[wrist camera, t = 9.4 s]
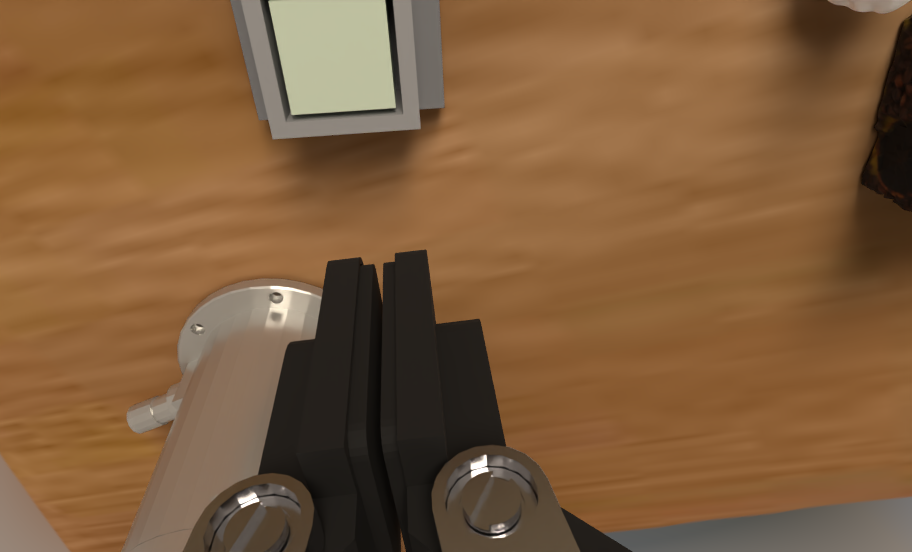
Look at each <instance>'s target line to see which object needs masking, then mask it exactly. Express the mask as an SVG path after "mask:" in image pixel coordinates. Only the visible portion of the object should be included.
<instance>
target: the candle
mask: <svg viewBox="0 0 912 552" xmlns="http://www.w3.org/2000/svg"><path fill="white" fill-rule="evenodd" d="M875 129H876V130H877V131H878V139H877V142H876V144H875V147H874V149H873V152H872V154H871V157H870V159H869V161H868V164H867V166H866V169H865V171H864V174H863V179H862V183H861V184H862V185H865V186H866V187H867V188H869V189H871V190H874V191H876V193H877V194H884V198H890V199H894V200H893V202H894V203H897V204H898V205H899V206H900V207H901V208H902V209H904V210H907V211H911V212H912V15H911V16H910V17H908V18H907V19H905V20H904V24H903V28H902V31H901V34H900V37H899V41H898V44H897V49H896V54H895V59H894V62H893V65H892V67H891V69H890V71H889V75H888V79H887V83H886V86H885V90H884V96H883V99H882V102H881V104H880V107H879V110H878V122H877V124H876V125H875Z"/></svg>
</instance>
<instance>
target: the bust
mask: <svg viewBox="0 0 912 552" xmlns="http://www.w3.org/2000/svg"><path fill="white" fill-rule="evenodd" d="M828 1H829V2H831V3H833V4H835V5H842V6H846V7H848V8H850V9H852V10H854V11H858V12H870V11H874V12H876V13H880V14H885V13H889V12H892V11H894V10H896V9H898V8H900V7H901V6H903V5H905V4H906V3H908V2H909V1H911V0H828Z"/></svg>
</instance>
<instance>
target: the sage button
mask: <svg viewBox="0 0 912 552" xmlns="http://www.w3.org/2000/svg"><path fill="white" fill-rule="evenodd" d="M268 2H269V7H270V12H271V16H272V21H273V26H274V31H275V36H276V41H277V46H278V51H279V56H280V60H281V65H282V70H283V75H284V80H285V85H286V90H287V95H288V99H289V104H290V109H291V114H292V115H299V114H314V113H329V112H343V111H358V110H373V109H388V108H396V95H395V78H394V68H393V58H392V47H391V37H390V27H389V16H388V6H387V0H269V1H268Z"/></svg>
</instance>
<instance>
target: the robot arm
mask: <svg viewBox="0 0 912 552" xmlns="http://www.w3.org/2000/svg"><path fill="white" fill-rule="evenodd" d="M177 352H178V362H179V366H180V369H181V372H182V375H183V376H182V379H181V381H180V382H179V383H177V384H174V385H172V386H171V387H170V388H169V389H168V391H167V394H164V395H162V396H155V397H153V398H150V399H148V400H145V401H142V402H140V403H137V404H135V405H133V406H131V407H130V408H129V410H128V412H127V421H128V424H129V427H130V428H131V429H132V430H133V431H134V432H137V433H139V434H140V433H144V432H147V431H149V430H152V429H155V428H157V427H160V426H162V425H165V424H168V422H169V421H172V420H174V422H173V424H172V427H171V429H170V432H169V434H168V437H167V439H166V442H165V444H164V447H163V449H162V452H161V454H160V457H159V459H158V462H157V464H156V467H155V469H154V472H153V474H152V477H151V479H150V482H149V484H148V487H147V489H146V492H145V494H144V497H143V499H142V502H141V504H140V507H139V509H138V512H137V514H136V517H135V519H134V522H133V524H132V527H131V529H130V532H129V534H128V537H127V539H126V542H125V544H124V547H123V549H122V552H401V532H402V536H403V540H404V544H405V549H406V552H632V551H630V550H628V549H627V548H626V547H624V546H622V545H621V544H619V543H618V542H616V541H614V540H613V539H611V538H610V537H608V536H606V535H605V534H603V533H602V532H600V531H598V530H597V529H595V528H593V527H592V526H590V525H589V524H587V523H585V522H584V521H582V520H581V519H579V518H577V517H576V516H574V515H573V514H571V513H569V512H568V511H566V510H565V509H563V508H561V507H560V505H559V503H558V501H557V498H556V496H555V494H554V492H553V489H552V487H551V485H550V483H549V481H548V478H547V477H546V475H545V474H544V472H543V471H542V469H541V468H540V466H539V465H538V464H537V463H536V462H535V461H533V460H532V459H531V458H530V457H528V456H527V455H526V454H524V453H522V452H520V451H517V450H515V449H513V448H510V447H506V444H505V439H504V434H503V429H502V424H501V419H500V414H499V410H498V405H497V400H496V395H495V390H494V385H493V380H492V375H491V370H490V365H489V361H488V356H487V351H486V346H485V341H484V336H483V331H482V326H481V322H480V320H479V319H474V320H466V321H457V322H449V323H441V324H436V320H435V312H434V304H433V296H432V289H431V281H430V273H429V265H428V258H427V251H426V250H418V251H410V252H401V253H395V262H388V263H384V264H383V304H382V299H381V294H380V289H379V283H378V278H377V273H376V268H375V265H374V264H371V265H363V261H362V259H361V257H359V258H350V259H342V260H333V261H328V263H327V268H326V274H325V280H324V286H323V289H322V288H319V287H316V286H313V285H309V284H306V283H303V282H298V281H292V280H286V279H256V280H248V281H242V282H239V283H236V284H232V285H229V286H226V287H224V288H222V289H220V290H218V291H216V292H214V293H212V294H210V295H209V296H208V297H206V298H205V299H204V300H203V301H202V302H200V303H199V304H198V305H197V306H196V307H195V308H194V310H193V311H192V312H191V314H190V315H189V317H188V318H187V320H186V322H185V325H184V327H183V329H182V331H181V333H180V337H179V341H178V345H177ZM400 528H401V529H400Z"/></svg>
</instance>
